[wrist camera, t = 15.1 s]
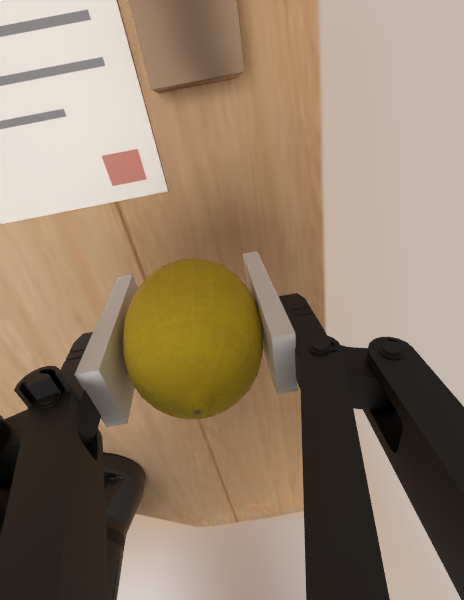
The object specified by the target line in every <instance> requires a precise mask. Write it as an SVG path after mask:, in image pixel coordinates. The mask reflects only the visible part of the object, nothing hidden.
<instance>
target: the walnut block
mask: <svg viewBox="0 0 464 600" xmlns="http://www.w3.org/2000/svg"><path fill="white" fill-rule="evenodd" d="M129 3H130V7H131V11H132V15H133V19H134V23H135V27H136V31H137V35H138V39H139V43H140V47H141V50H142V54H143V58H144V62H145V66H146V70H147V74H148V78H149V82H150V86H151V90H153V91H155V92H157V93H161V92H166V91H172V90H177V89H182V88H187V87H192V86H197V85H203V84H208V83H213V82H218V81H223V80H228V79H234V78H236V77H238V76H239V75H240V74H242V73H243V72H245V71H244V62H243V53H242V44H241V35H240V26H239V17H238V8H237V0H129Z"/></svg>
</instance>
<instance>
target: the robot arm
mask: <svg viewBox="0 0 464 600" xmlns="http://www.w3.org/2000/svg"><path fill="white" fill-rule="evenodd" d="M243 262H244V269H245V276H246V284H247V288H248V290H249V291H250V293H251V294H252V297H253V299H254V301H255V303H256V306H257V308H258V312H259V315H260V319H261V325H262V334H263V348H264V352H265V355H266V358H267V362H268V365H269V368H270V372H271V375H272V378H273V382H274V385H275V388H276V392H277V394H281V393H286V392H292V391H297V390H298V388H297V382H298V385H299V387H300V390H301V417H302V454H303V490H304V523H305V524H304V525H305V526H304V527H305V563H306V599H307V600H390V599H389V594H388V589H387V583H386V578H385V573H384V568H383V562H382V558H381V552H380V547H379V542H378V536H377V531H376V526H375V521H374V515H373V511H372V505H371V500H370V494H369V489H368V484H367V479H366V474H365V469H364V463H363V458H362V452H361V447H360V442H359V437H358V431H357V427H356V421H355V416H354V411H353V408H356V409H363V411H364V413H365V415H366V416H367V418H368V420H369V422H370V424H371V426H372V428H373V430H374V432H375V434H376V436H377V438H378V439H379V442H380V443H381V445H382V447H383V449H384V451H385V453H386V455H387V457H388V459H389V461H390V462H391V465H392V467H393V469H394V470H395V472H396V474H397V476H398V478H399V480H400V482H401V484H402V486H403V488H404V490H405V492H406V494H407V496H408V498H409V499H410V501H411V503H412V505H413V507H414V509H415V511H416V513H417V515H418V517H419V519H420V520H421V523H422V525H423V526H424V528H425V530H426V532H427V534H428V536H429V538H430V540H431V542H432V544H433V546H434V548H435V550H436V551H437V553H438V555H439V557H440V559H441V561H442V563H443V565H444V567H445V569H446V571H447V573H448V575H449V577H450V578H451V580H452V582H453V584H454V586H455V588H456V590H457V592H458V594H459V596H460V598H461V600H464V407H463V406H462V404H461V403H460V402H459V401H458V400H457V398H456V397H455V396H454V395H453V394H452V393H451V391H450V390H449V389H448V388H447V387H446V386H445V385H444V383H443V382H442V381H441V380H440V379H439V377H438V376H437V375H436V374H435V373H434V372H433V370H432V369H431V368H430V367H429V366H428V365H427V364H426V362H425V361H424V360H423V359H422V358H421V357H420V355H419V354H418V353H417V352H416V351H415V350H414V348H413V347H412V346H410V345H409V344H408V343H407V342H405V341H402V340H400V339H398V338H393V337H380V338H376V339H374V340H373V341H372V342H370V343H369V347H368V348H352V347H345V346H342V345H340V344H339V342H338V341H337V340H335V339H334V338H332V337H329V336H327V334H326V333H325V331H324V329H323V328H322V326H321V324H320V323H319V321H318V319H317V318H316V316H315V314H313V311H312V309H311V308H310V306H309V304H308V303H307V301H306V299H305V298H303V297H302V296H300V295H299V294H297V293H295V294H290V295H284V296H279V297H278V295H277V292H276V290H275V288H274V286H273V284H272V282H271V279H270V277H269V275H268V273H267V271H266V269H265V266H264V264H263V262H262V260H261V258H260V256H259V254H258V251H254V252H249V253H244V254H243ZM137 290H138V287H137V285H136V282H135V279H134V276H133V274H129V275H123V276H118V277H117V279H116V281H115V283H114V286H113V288H112V290H111V292H110V295H109V297H108V299H107V301H106V304H105V306H104V308H103V311H102V313H101V315H100V317H99V320H98V322H97V324H96V327H95V329H94V331H93V332H90V333H85V334H82V335H81V336H80V337H79V338H78V339H77V340H76V341H75V342H74V344H73V346H72V348H71V350H70V353H69V354H68V356H67V358H66V361H65V362H64V364H63V366H62V368H61V370H60V369H59V368H57V367H56V366H46V367H42V368H39V369H37V370H35V371H33V372H31V373H29V374H28V375H27V376H25V377H24V378H23V379H22V380H21V381H20V382H19V383H18V384H17V386H16V388H15V390H14V391H15V392H16V393H17V394H18V396H19V397H20V398H21V399H22V400H23V402H24V403H25V404H26V405H27V407H28V409H27V410H25V411H23V412H21V413H18V414H16V415H14V416H11V417H9V418H7V419H3V418H2V416H1V415H0V600H117V593H118V587H119V580H120V573H121V566H122V559H123V551H124V545H125V539H126V534H127V531H128V529H129V527H130V524H131V522H132V520H133V517H134V515H135V513H136V510H137V508H138V506H139V503H140V501H141V499H142V496H143V493H144V485H145V474H144V472H143V470H142V469H141V468H140V467H139V466H138V465H137V464H135V463H134V462H132V461H130V460H128V459H125V458H123V457H119V456H115V455H110V454H103V444H102V435H101V432H100V431H99V429H98V425H99V422H100V418H101V419H102V420H103V422H104V423H105V425H106V427H109V426H114V425H120V424H125V423H128V418H129V413H130V408H131V403H132V398H133V393H134V388H135V386H134V385H133V383H132V382H131V380H130V377H129V374H128V371H127V367H126V363H125V359H124V353H123V334H124V322H125V317H126V314H127V311H128V308H129V306H130V303H131V301H132V299H133V296H134V294H135V292H136V291H137Z"/></svg>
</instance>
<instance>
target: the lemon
mask: <svg viewBox="0 0 464 600" xmlns="http://www.w3.org/2000/svg"><path fill="white" fill-rule="evenodd" d="M262 351H263V334H262V325H261V319H260V315H259V312H258V308H257V306H256V303H255V301H254V299H253V297H252V294H251V293H250V291H249V290H248V288H247V287H246V286H245V285H244V283H243V282H242V281H241V280H240V279H239V278H238V276H237V275H235V274H234V273H233V272H231V271H230V270H228V269H227V268H225V267H224V266H222V265H219V264H217V263H214V262H211V261H208V260H201V259H185V260H178V261H175V262H173V263H170V264H167V265H165V266H163V267H161V268H160V269H158V270H157V271H155V272H154V273H152V274H151V275H150V276H149V277H148V278H147V279H146V280H145V281H144V282H143V284H142V285H141V286H140V287H139V288H138V290H137V291H136V292H135V294H134V296H133V299H132V301H131V303H130V306H129V308H128V311H127V314H126V317H125V322H124V334H123V353H124V359H125V363H126V367H127V371H128V374H129V377H130V380H131V382H132V383H133V385H134V386H135V388H136V389H137V391H138V392H139V394H140V395H141V397H142V398H144V399H145V400H146V401H147V402H148V403H149V404H151V405H152V406H153V407H154V408H155V409H157V410H159V411H162V412H164V413H166V414H168V415H170V416H174V417H178V418H183V419H201V418H206V417H210V416H214V415H216V414H219V413H221V412H223V411H225V410H227V409H228V408H230V407H231V406H233V405H234V404H236V403H237V402H238V401H239V400H240V399H241V398H242V397H243V396H244V395H245V394H246V392H247V391H248V390H249V388H250V387H251V385H252V383H253V381H254V380H255V378H256V376H257V374H258V370H259V366H260V362H261V358H262Z"/></svg>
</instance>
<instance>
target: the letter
mask: <svg viewBox="0 0 464 600" xmlns="http://www.w3.org/2000/svg"><path fill="white" fill-rule="evenodd" d="M167 191H168V188H167V185H166V181H165V177H164V174H163V170H162V166H161V163H160V159H159V155H158V151H157V148H156V144H155V140H154V137H153V133H152V129H151V125H150V122H149V118H148V114H147V111H146V107H145V103H144V99H143V96H142V92H141V88H140V85H139V81H138V77H137V73H136V70H135V66H134V62H133V59H132V55H131V51H130V48H129V44H128V40H127V36H126V33H125V29H124V25H123V22H122V18H121V14H120V10H119V7H118V3H117V0H0V223H1V224H4V223H9V222H14V221H19V220H24V219H30V218H35V217H40V216H45V215H50V214H55V213H60V212H65V211H70V210H75V209H80V208H86V207H91V206H96V205H101V204H106V203H111V202H116V201H121V200H126V199H131V198H136V197H141V196H147V195H152V194H157V193H162V192H167Z"/></svg>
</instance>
